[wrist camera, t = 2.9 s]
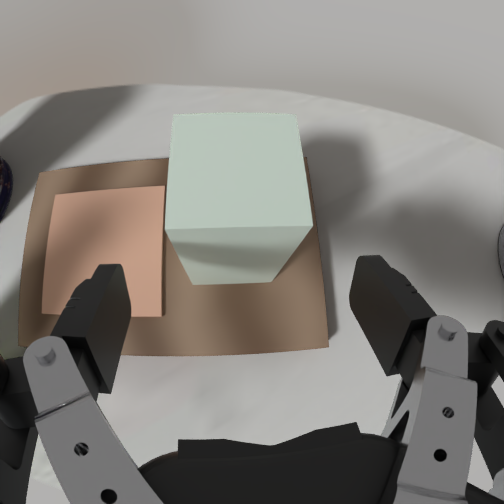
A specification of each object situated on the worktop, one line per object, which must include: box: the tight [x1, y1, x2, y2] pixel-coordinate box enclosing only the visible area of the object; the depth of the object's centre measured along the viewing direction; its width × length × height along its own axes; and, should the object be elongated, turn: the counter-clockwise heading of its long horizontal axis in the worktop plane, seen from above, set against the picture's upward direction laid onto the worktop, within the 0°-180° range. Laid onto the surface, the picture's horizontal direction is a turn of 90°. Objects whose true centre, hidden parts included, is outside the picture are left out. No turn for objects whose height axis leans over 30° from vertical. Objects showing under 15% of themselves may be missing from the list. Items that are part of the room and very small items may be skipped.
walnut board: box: [18, 157, 329, 356], centre depth 21 cm, size 22×14×2 cm, turn 93°
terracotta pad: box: [42, 186, 165, 317], centre depth 20 cm, size 9×9×1 cm
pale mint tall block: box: [165, 113, 313, 285], centre depth 16 cm, size 5×5×10 cm
